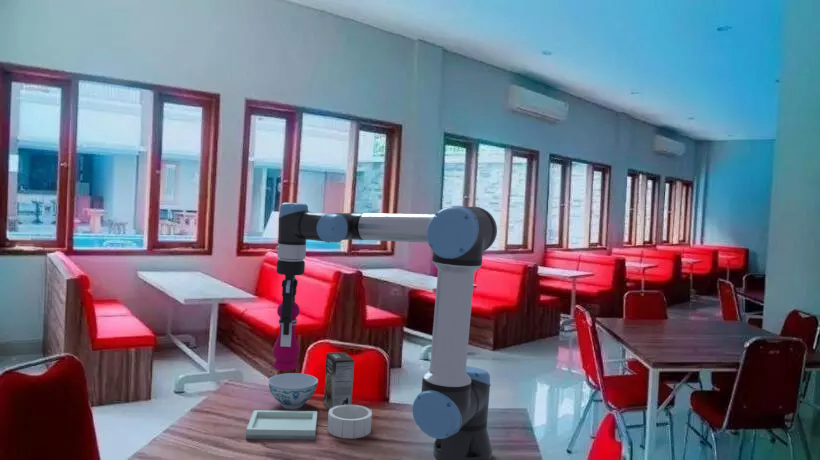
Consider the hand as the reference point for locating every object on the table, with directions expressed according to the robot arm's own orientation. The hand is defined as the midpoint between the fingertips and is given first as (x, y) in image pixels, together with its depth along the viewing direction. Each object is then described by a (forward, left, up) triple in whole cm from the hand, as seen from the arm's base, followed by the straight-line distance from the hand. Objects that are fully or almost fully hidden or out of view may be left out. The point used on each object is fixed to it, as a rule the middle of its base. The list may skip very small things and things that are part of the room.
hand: (286, 342), depth 166 cm
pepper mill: (0, 0, -7) cm, 7 cm away
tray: (0, 0, -24) cm, 24 cm away
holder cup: (-15, -11, -24) cm, 30 cm away
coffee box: (-2, -23, -24) cm, 34 cm away
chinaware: (+10, -16, -24) cm, 31 cm away
